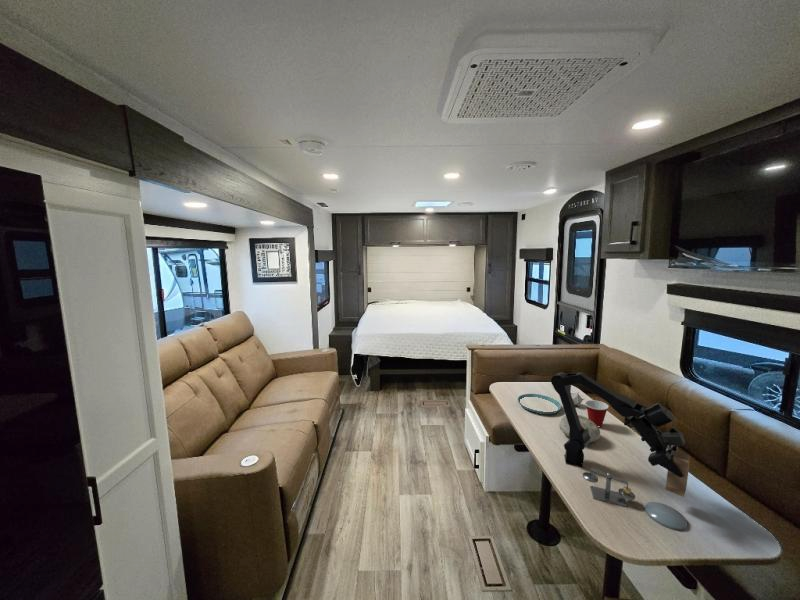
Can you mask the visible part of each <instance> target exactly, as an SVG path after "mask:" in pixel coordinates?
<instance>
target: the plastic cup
mask: <svg viewBox="0 0 800 600" xmlns="http://www.w3.org/2000/svg"><path fill="white" fill-rule="evenodd" d="M584 405H585V407H586V409H587V411H586V412H587V418H588V419H589V420H591V421H592V422H594V423H595V424H596V425H597V426H602V427H603V424H604V420H605V418H606V417H605V416H606V415H607V411H608V409H609V404H608V403H607V402H606V403H605V402H603V401H601V400H594V399H593V400H592V399H590V400H586V401H584Z"/></svg>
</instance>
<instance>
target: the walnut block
mask: <svg viewBox="0 0 800 600" xmlns="http://www.w3.org/2000/svg"><path fill="white" fill-rule="evenodd" d="M672 455H674V458H673V461H674V463H675V464H676V466H677V467H678V468H679V470H680V471H681V473H682V475H683V477H679V476H677V475H676V474H674V473H672V472H671V471H669V470H667V472H666V482H665V488H664V489H665V490H666V491H668V492H671V493H674V494H676V495H678V496H681V497H683V498H685V494H686V491H687V486H688V478H689V469H690V462H691V456H690V455H688V454H684V453H682V452H678V451H677V452H676V451H673V450H672V451H671V453H670V456H672Z"/></svg>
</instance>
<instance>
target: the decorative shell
mask: <svg viewBox="0 0 800 600" xmlns="http://www.w3.org/2000/svg"><path fill="white" fill-rule="evenodd" d="M578 417H579V421H580V424H581V426H582V427H583V428H584V429H588V433H589V436H590V437H591V438H590V442H589V444H590V443H593V442H596V441H598V440H599V439H600V437H601V429H600V428H599V427H598V426H597V425H596V424H595V423H594V422H592V421H591V420H589V418H588V417H586V416H584V415H582V414H581V415H580V414H578ZM558 427H559V429H560V431H561V432H562V433H563V434H565V436H567V437H569V430H570V427H569V424H568V421H567V418H566V415H564V416H562V418H560V421H559V425H558Z"/></svg>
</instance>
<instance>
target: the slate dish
mask: <svg viewBox="0 0 800 600" xmlns="http://www.w3.org/2000/svg"><path fill="white" fill-rule="evenodd" d="M644 510H645V513H646V514H647V516H648V517H649V518H650V519H652V521H654V522H656V523H657V524H659V525H660V526H662V527H665V528H668V529H670V530H675V531H683V530H685V529H686V528H687V526H688V521H687V520H688V519H686V517H685V516H684V515H683V514H682V513H681V512H680V511H678V510H677V509H676V508H674V507H672V506H669V505H667V504H664V503H662V502H658V501H648V502H647V503H645V507H644Z"/></svg>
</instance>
